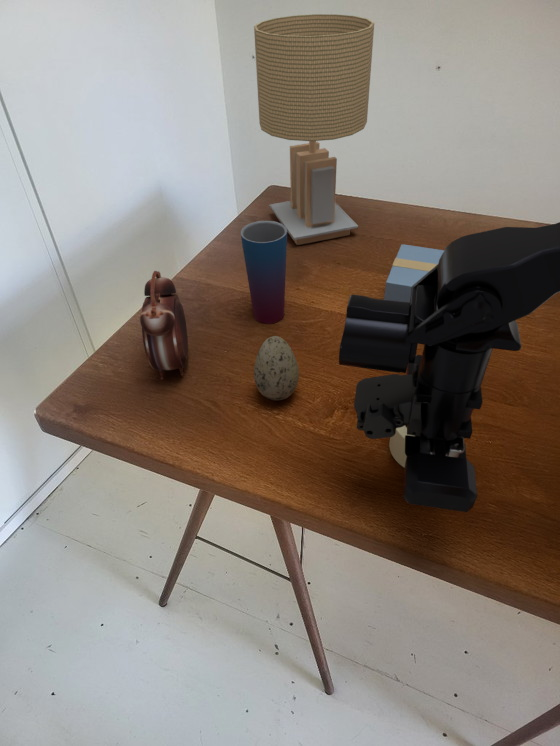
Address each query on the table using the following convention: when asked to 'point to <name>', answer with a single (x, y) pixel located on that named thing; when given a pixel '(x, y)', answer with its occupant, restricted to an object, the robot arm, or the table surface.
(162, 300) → the alarm clock
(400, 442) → the tape
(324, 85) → the desk lamp
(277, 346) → the decorative egg
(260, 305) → the cup
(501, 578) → the table surface
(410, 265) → the carton
